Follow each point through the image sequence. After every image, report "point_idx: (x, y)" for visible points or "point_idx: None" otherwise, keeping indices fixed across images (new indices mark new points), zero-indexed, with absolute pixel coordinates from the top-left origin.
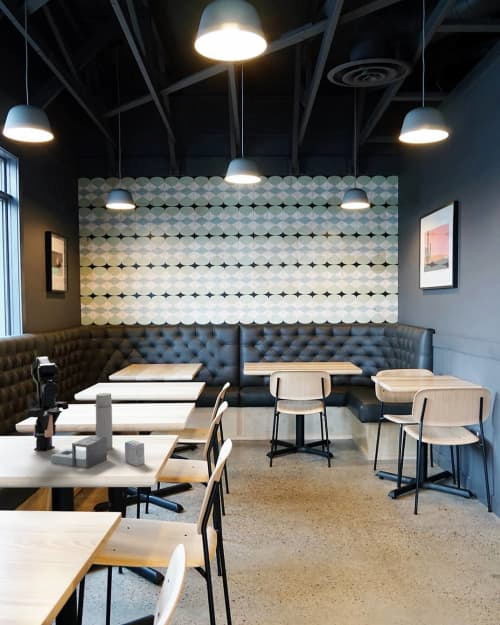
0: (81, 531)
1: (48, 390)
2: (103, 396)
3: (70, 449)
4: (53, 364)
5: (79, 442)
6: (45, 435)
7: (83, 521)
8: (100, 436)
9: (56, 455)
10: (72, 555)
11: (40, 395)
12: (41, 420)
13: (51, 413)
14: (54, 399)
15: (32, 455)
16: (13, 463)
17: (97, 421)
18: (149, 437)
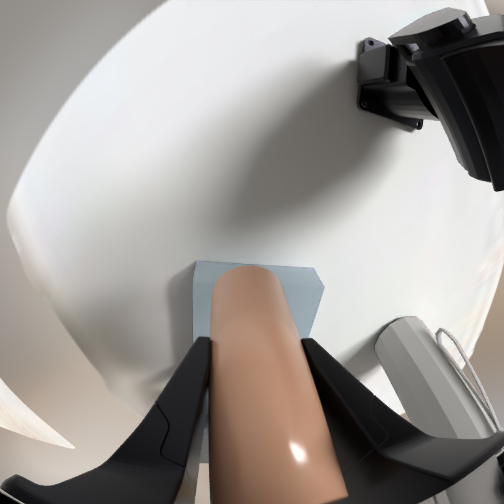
0: (32, 430)
1: None
2: None
3: (309, 308)
4: None
5: (204, 445)
6: (212, 297)
7: (41, 429)
8: (396, 380)
9: (200, 306)
10: (15, 427)
11: None
12: (138, 448)
13: (374, 499)
14: None
15: (278, 77)
16: (124, 80)
17: (430, 419)
18: (459, 360)
